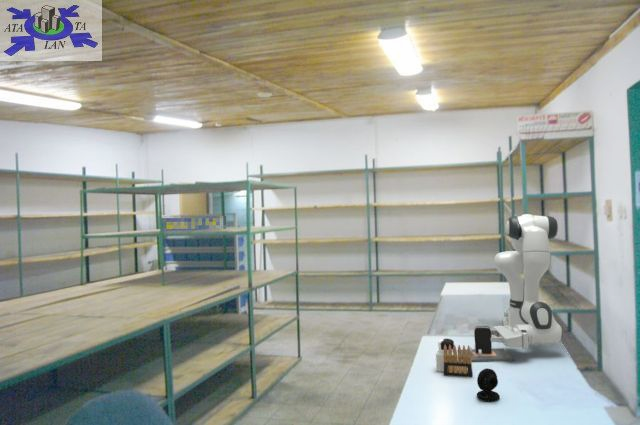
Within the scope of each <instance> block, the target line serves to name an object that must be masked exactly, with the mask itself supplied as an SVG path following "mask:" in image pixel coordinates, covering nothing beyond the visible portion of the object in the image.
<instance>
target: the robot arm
mask: <svg viewBox="0 0 640 425" xmlns="http://www.w3.org/2000/svg"><path fill="white" fill-rule="evenodd" d="M505 230H506V231H505V232H506V233H507V236H508V237H509V238H510V239H512V240H511V245H512V248H513V249H514V250H506V251H502V252H498V253H496V255H495V256H494V259H493V265H494V268H495V269H496V270H497V272H499V273H501V274H502V275H503V276H504V277H505V279H506V281H507V283H508V286H509V291H510V292H509V293H510V295H509V296H510V298H509V307H508V308H507V310H506V312H503V319H502V323H503V325H495V326H492V329H491V336H492V337H490V341H491V342H492V343H499V344H503V345H504V346H505V347H508V348H522V349H529V346H530V347H531V346H534V345H537V346H550V345H557V344H558V343H560V342H561V340H562V337H563V329H562V326H561V325H560V324H559V323H558V322H557V320H556V319H555V317H554V315H553V312H552V308H551V307H550V306H549V305H548V304H547V303H546V302H542V301H540V300H539V298H540V297H539V296H540V295H539V294H540V282H541V279H542V277H543V276H544V275H545V273H547V271H548V270H549V268H550V262H551V247H550V240H551V239H554V238H556V237H557V235H558V231H559V224H558V220H557V219H556V217H554V216H550V215H546V216H545V215H535V214H530V213H524V214H521V215H520V216H518V215H515V216H510V217H509V218H508V219H507V222H506V223H505ZM521 273H523V277H522V276H521ZM504 317H505V318H504Z"/></svg>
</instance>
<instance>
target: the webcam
mask: <svg viewBox="0 0 640 425" xmlns="http://www.w3.org/2000/svg"><path fill="white" fill-rule="evenodd" d="M476 383H477V387H478V388H479V389H480V390H479V391H478V392H477V393H476V398H477V399H478V400H480V401H483V402H489V403H490V402H491V403H492V402H496V401H499V400H500V394H499V393H498V392H496V391H493V390H494V389H495V388H497V386H498V384H499V379H498V375H497V372H495V370H494V369H491V368H484V369H482V370H481V371H480V372H479V373H478V375H477V379H476ZM484 395H486V396H484Z"/></svg>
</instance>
